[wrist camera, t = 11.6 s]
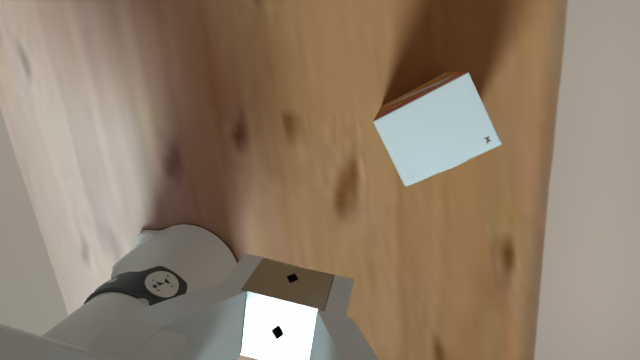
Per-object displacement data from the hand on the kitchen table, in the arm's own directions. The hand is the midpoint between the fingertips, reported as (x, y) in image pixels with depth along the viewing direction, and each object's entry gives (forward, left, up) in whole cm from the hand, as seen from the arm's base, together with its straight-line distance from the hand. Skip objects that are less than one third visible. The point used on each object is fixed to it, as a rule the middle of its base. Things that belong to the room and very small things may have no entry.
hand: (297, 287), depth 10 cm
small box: (+4, -4, -34) cm, 34 cm away
